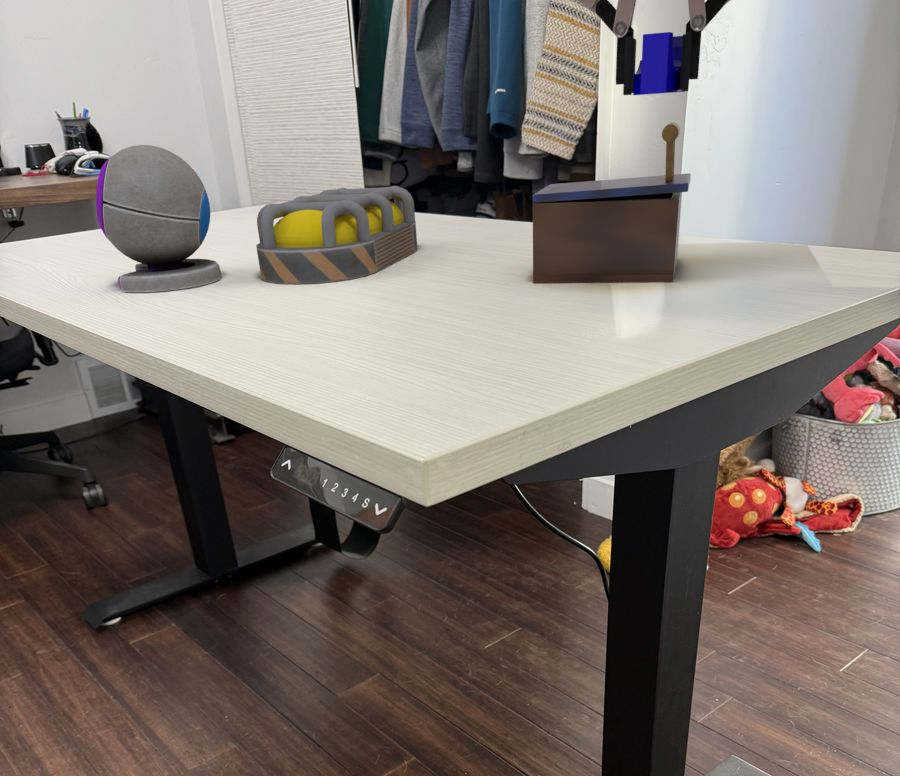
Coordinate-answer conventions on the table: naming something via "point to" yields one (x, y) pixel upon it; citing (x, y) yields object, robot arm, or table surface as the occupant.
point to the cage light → (335, 235)
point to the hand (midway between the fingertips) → (656, 90)
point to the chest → (607, 239)
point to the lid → (623, 181)
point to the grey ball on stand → (155, 218)
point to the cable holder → (659, 64)
